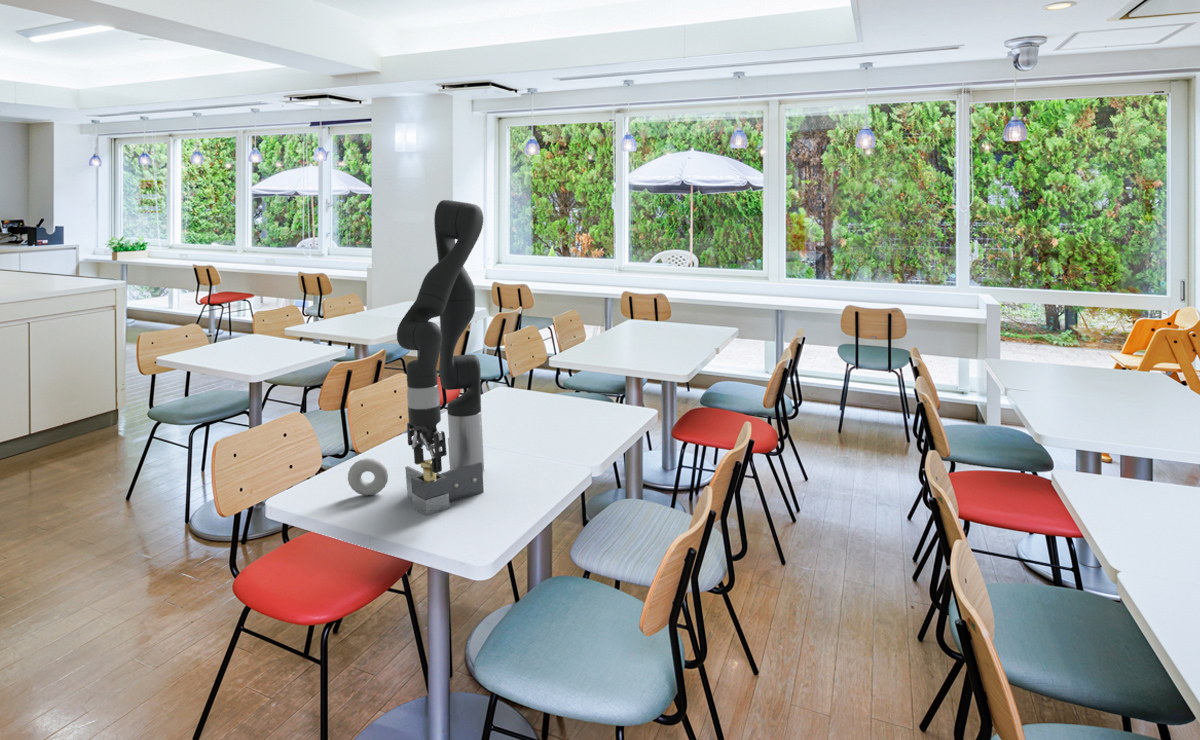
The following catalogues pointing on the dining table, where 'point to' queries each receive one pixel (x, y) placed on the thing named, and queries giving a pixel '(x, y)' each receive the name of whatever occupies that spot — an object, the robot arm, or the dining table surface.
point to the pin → (428, 470)
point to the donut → (370, 466)
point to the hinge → (443, 487)
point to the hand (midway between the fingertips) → (428, 467)
